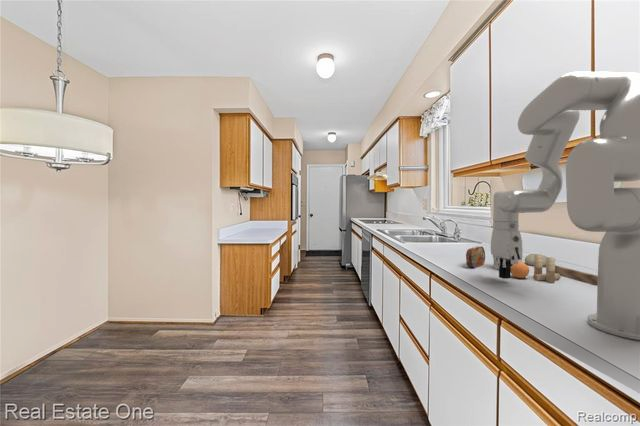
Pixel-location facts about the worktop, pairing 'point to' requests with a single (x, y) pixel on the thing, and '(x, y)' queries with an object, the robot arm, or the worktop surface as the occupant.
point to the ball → (520, 270)
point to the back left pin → (538, 264)
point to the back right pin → (550, 270)
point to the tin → (475, 257)
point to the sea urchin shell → (530, 260)
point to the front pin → (543, 277)
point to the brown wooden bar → (577, 275)
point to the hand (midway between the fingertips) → (504, 277)
